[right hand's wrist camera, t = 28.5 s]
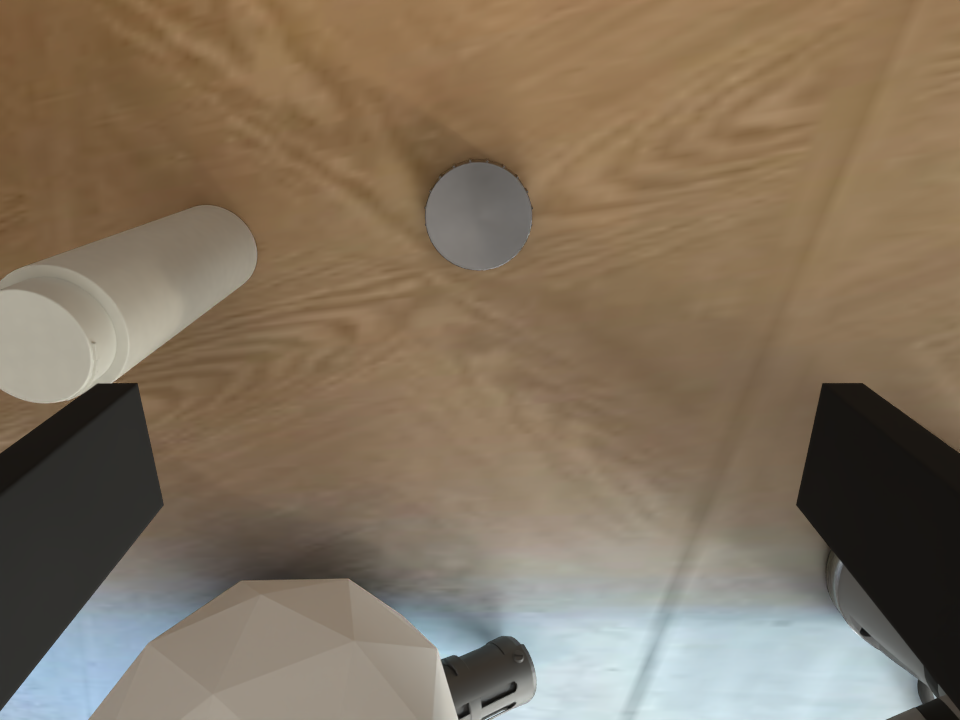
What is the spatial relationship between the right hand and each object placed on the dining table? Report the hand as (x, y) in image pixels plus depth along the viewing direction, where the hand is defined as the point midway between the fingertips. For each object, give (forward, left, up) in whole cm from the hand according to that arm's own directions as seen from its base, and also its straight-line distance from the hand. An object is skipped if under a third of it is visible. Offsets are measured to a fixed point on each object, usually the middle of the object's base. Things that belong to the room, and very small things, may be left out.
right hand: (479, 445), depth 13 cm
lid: (0, 0, -26) cm, 26 cm away
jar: (-3, +16, -28) cm, 32 cm away
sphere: (-33, +8, -28) cm, 44 cm away
